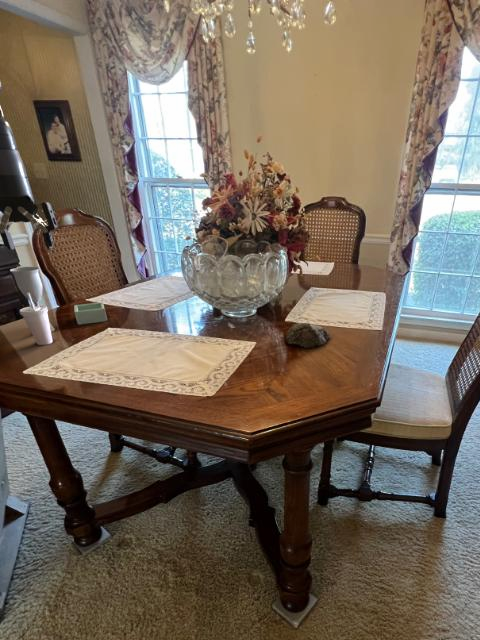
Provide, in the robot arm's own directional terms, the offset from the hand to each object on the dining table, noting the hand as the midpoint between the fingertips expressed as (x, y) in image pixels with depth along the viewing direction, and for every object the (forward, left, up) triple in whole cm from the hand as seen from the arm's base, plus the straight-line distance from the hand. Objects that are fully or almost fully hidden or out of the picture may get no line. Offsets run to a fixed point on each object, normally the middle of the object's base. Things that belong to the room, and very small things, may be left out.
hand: (31, 248), depth 94 cm
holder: (+9, +20, -25) cm, 33 cm away
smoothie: (-4, +2, -25) cm, 25 cm away
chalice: (-4, +14, -25) cm, 29 cm away
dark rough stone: (+63, -29, -25) cm, 74 cm away
